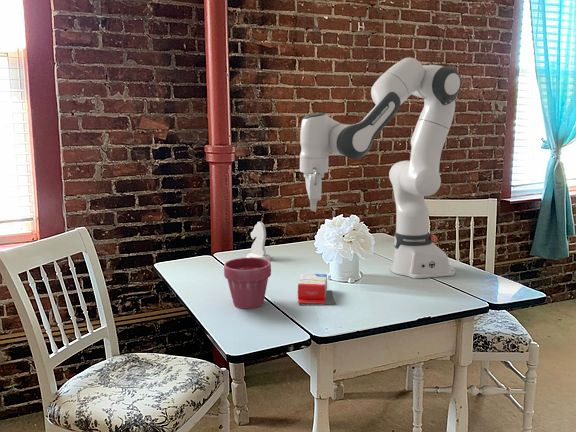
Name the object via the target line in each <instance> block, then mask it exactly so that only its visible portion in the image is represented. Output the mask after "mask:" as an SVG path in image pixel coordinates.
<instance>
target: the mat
mask: <svg viewBox="0 0 576 432" xmlns="http://www.w3.org/2000/svg"><path fill="white" fill-rule="evenodd" d="M310 302H313V301H310ZM314 302H315V301H314ZM334 304H336V305H337V303H336V299H335V295H334V293H333V290H328V289H327V292H326V299H325V301H324V303H298V305H299V306H331V305H332V306H334Z"/></svg>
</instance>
